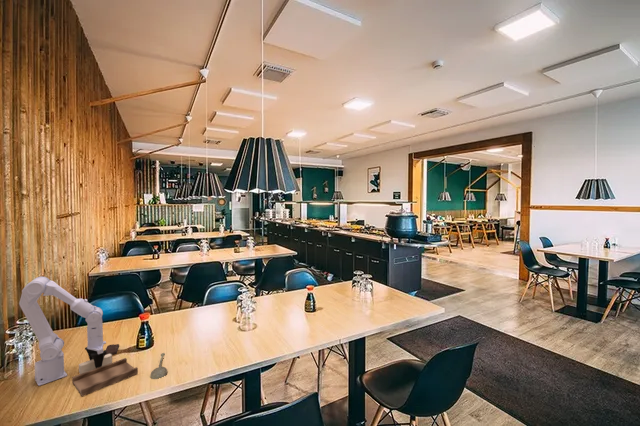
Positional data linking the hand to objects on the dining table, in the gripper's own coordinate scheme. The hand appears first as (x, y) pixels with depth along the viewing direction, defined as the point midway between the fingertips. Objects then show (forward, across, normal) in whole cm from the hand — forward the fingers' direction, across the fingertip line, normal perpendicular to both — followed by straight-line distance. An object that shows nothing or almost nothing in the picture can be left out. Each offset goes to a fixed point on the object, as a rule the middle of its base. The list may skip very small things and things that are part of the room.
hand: (96, 364), depth 139 cm
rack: (+2, -14, 0) cm, 14 cm away
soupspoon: (+2, -22, -19) cm, 29 cm away
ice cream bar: (+2, +10, -9) cm, 14 cm away
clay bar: (+2, 0, 0) cm, 2 cm away
